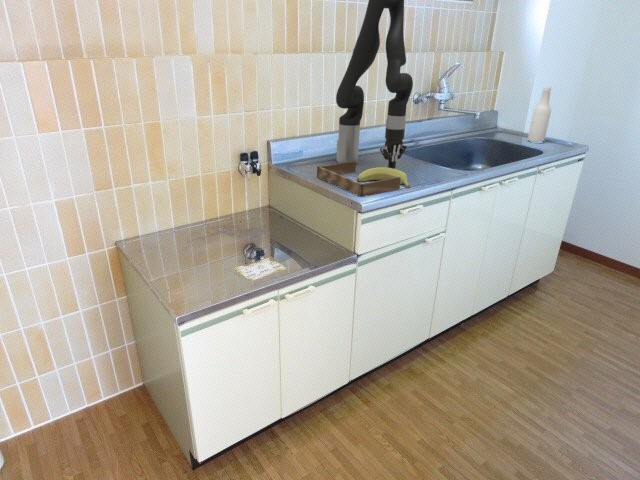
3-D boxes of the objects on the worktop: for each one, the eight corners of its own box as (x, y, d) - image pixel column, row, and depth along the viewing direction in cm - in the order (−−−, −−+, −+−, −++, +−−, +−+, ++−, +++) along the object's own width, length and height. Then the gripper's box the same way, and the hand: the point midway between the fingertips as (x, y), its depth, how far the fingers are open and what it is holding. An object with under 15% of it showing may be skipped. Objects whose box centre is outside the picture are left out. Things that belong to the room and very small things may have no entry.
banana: (376, 158, 186) (418, 174, 176) (375, 170, 190) (417, 186, 179) (355, 173, 179) (398, 190, 168) (355, 185, 182) (397, 202, 172)
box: (316, 177, 184) (317, 166, 183) (353, 171, 194) (354, 160, 193) (360, 197, 163) (361, 184, 162) (399, 188, 173) (400, 177, 172)
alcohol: (527, 142, 259) (539, 87, 246) (526, 139, 266) (537, 85, 254) (544, 144, 256) (557, 88, 244) (542, 141, 264) (555, 86, 252)
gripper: (400, 124, 186) (396, 165, 193) (376, 126, 179) (373, 169, 186) (414, 127, 181) (409, 169, 188) (389, 129, 174) (385, 174, 181)
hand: (391, 169), depth 187 cm, fingers closed
